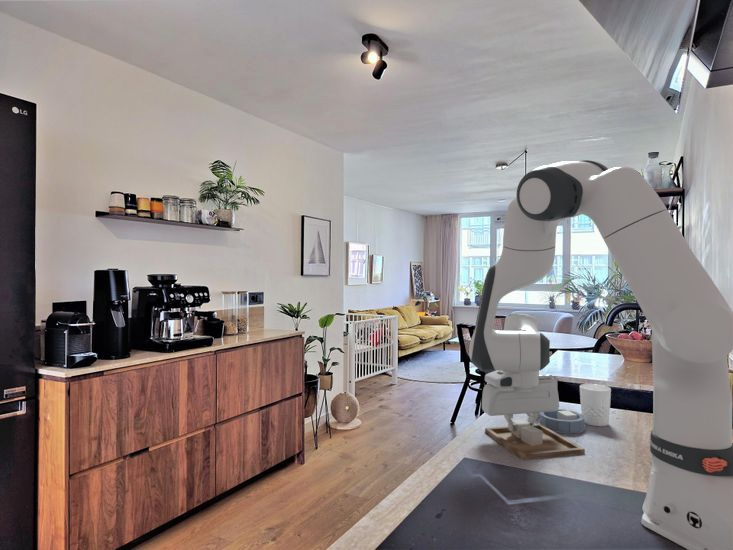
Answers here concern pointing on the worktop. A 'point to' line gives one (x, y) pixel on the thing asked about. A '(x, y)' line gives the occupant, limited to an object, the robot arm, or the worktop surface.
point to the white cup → (595, 404)
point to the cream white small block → (532, 435)
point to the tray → (523, 450)
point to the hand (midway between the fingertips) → (520, 429)
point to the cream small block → (519, 427)
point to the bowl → (562, 422)
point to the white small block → (566, 415)
